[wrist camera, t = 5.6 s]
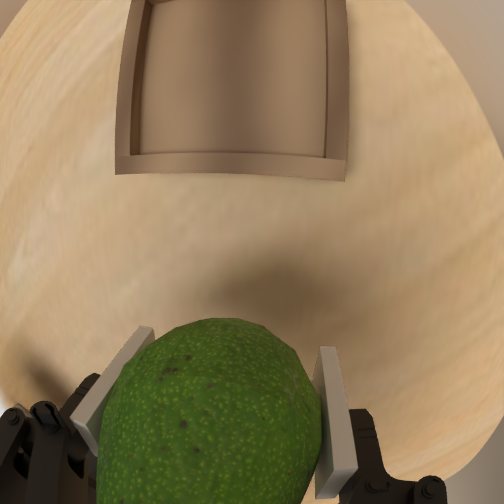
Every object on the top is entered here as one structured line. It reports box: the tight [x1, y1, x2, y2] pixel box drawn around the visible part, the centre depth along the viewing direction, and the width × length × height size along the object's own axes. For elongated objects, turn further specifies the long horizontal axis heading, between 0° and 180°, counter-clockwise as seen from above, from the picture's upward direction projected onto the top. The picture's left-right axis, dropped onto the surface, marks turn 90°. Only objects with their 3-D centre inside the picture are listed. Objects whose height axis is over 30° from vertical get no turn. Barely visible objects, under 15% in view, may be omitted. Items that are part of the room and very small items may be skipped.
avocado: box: [96, 318, 322, 504], centre depth 8 cm, size 8×8×12 cm
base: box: [115, 0, 349, 182], centre depth 13 cm, size 12×12×4 cm
